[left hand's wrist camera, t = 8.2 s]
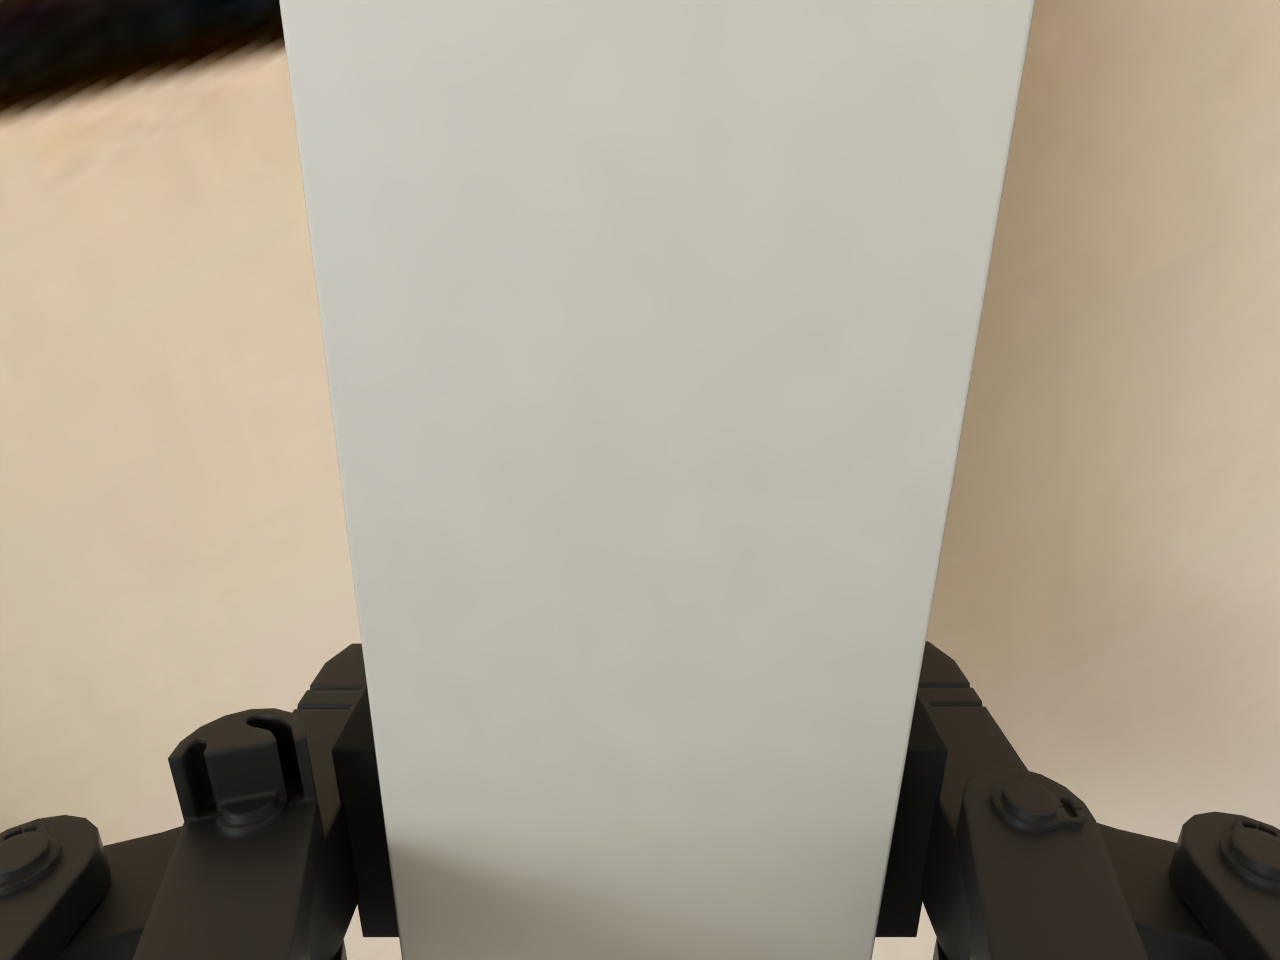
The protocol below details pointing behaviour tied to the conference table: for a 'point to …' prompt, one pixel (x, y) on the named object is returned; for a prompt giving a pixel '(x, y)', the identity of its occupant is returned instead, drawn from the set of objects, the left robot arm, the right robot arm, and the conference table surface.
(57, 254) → the conference table surface
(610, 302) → the bar
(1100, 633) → the conference table surface
